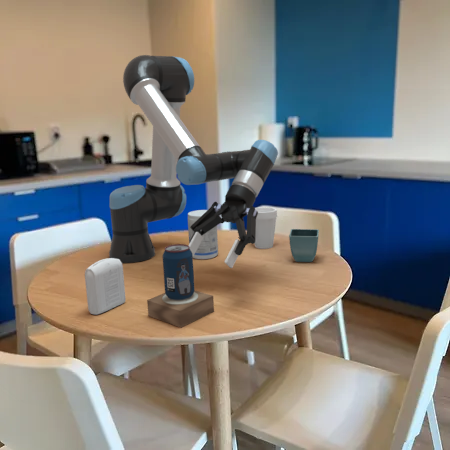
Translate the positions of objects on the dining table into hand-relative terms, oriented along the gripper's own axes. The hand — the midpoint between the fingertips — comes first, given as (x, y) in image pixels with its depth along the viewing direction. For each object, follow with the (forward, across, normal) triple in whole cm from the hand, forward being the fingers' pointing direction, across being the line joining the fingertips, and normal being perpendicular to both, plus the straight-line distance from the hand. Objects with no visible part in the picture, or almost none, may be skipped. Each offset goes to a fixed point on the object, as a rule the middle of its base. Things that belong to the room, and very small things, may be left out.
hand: (207, 260), depth 120 cm
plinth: (+15, 0, 0) cm, 15 cm away
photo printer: (+21, +18, +5) cm, 28 cm away
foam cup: (-26, +18, -41) cm, 52 cm away
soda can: (+12, 0, +2) cm, 12 cm away
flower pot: (-22, -2, -37) cm, 43 cm away
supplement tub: (-12, +28, -27) cm, 41 cm away
